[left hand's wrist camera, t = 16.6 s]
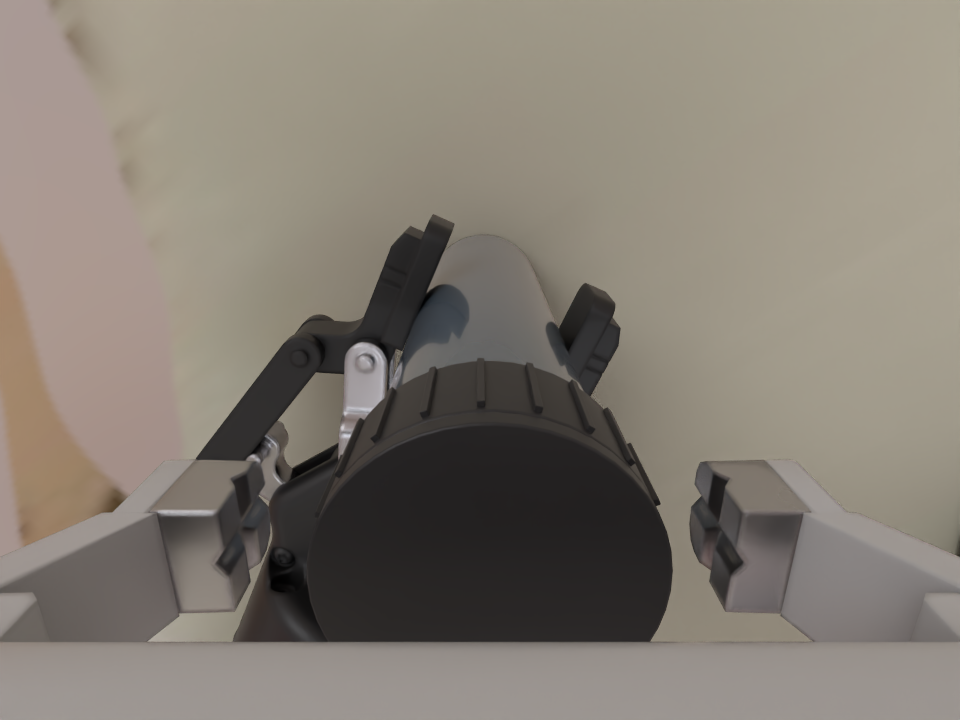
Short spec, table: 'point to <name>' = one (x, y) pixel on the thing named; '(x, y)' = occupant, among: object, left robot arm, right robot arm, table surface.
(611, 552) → the lid
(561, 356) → the jar
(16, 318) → the table surface
